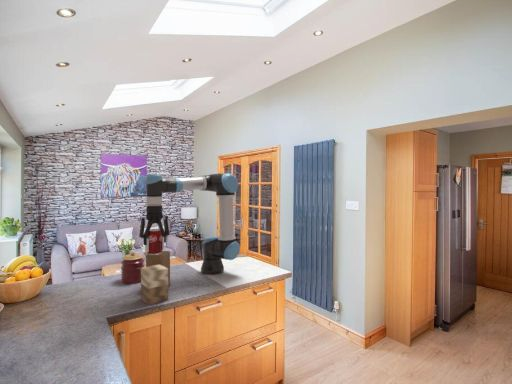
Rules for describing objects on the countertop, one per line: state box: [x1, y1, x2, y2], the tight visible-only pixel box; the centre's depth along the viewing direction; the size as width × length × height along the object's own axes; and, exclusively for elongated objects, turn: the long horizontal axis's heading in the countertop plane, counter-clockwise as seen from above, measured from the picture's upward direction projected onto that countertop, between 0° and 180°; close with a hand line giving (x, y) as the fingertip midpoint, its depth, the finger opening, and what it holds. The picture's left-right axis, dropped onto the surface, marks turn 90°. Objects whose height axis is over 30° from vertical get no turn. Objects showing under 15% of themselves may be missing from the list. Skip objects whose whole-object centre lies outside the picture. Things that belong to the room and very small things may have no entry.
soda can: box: [146, 228, 163, 255], centre depth 152 cm, size 7×7×12 cm
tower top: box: [140, 264, 168, 289], centre depth 152 cm, size 10×10×8 cm
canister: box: [120, 251, 145, 285], centre depth 180 cm, size 13×13×18 cm
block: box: [145, 250, 171, 287], centre depth 169 cm, size 10×10×20 cm
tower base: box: [140, 283, 169, 306], centre depth 153 cm, size 10×10×8 cm
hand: (154, 250), depth 152 cm, fingers closed on soda can, 7 cm apart
